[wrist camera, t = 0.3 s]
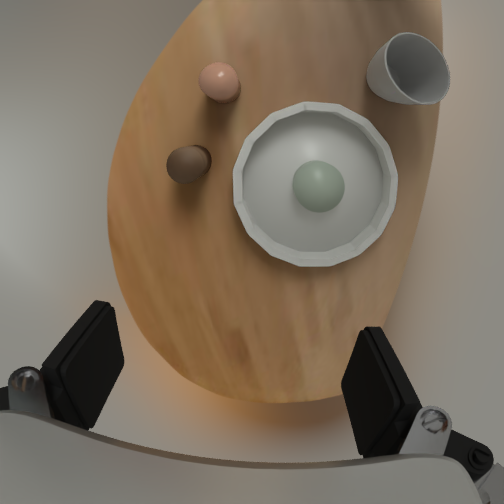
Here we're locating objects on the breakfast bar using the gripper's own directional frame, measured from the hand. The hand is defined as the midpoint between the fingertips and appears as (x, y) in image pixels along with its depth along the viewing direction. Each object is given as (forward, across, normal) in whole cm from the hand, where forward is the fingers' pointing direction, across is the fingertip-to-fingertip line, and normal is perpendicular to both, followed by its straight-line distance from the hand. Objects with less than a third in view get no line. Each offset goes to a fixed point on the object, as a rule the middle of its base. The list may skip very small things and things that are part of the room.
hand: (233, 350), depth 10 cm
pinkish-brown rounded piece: (+29, +5, -14) cm, 32 cm away
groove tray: (+29, -8, -3) cm, 30 cm away
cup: (+29, -16, -18) cm, 37 cm away
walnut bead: (+29, +8, -4) cm, 30 cm away
